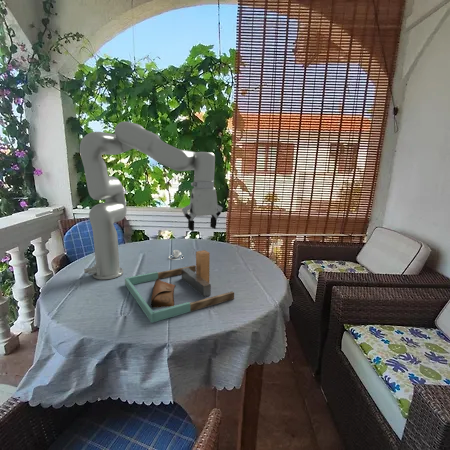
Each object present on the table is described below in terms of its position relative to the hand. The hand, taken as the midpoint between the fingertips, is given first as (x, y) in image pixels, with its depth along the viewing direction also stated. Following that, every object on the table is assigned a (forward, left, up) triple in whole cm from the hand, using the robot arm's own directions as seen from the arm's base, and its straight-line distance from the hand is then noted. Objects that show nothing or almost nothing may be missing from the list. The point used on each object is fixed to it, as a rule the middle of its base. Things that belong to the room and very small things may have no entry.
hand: (202, 229), depth 113 cm
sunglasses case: (-17, -1, -24) cm, 30 cm away
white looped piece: (+7, +36, -24) cm, 44 cm away
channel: (-5, 0, -24) cm, 24 cm away
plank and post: (-1, 0, -24) cm, 24 cm away
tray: (-20, 0, -24) cm, 31 cm away
